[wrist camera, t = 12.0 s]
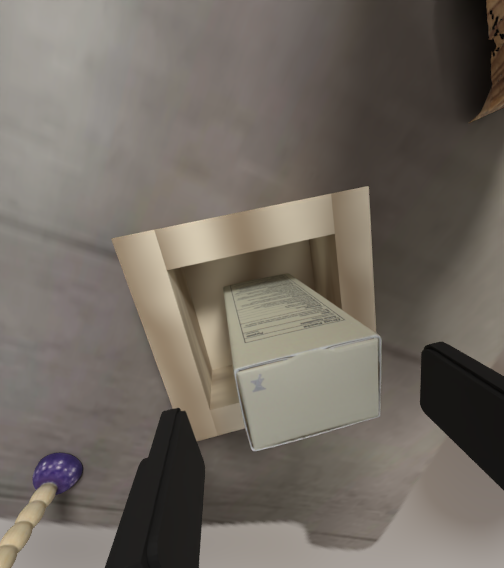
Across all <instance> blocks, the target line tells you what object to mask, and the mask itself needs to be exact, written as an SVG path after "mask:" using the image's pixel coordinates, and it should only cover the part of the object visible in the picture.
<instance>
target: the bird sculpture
mask: <svg viewBox="0 0 504 568" xmlns="http://www.w3.org/2000/svg"><path fill="white" fill-rule="evenodd" d="M486 3H487V7H486V8H487V22H488V25H489V32H488V34H489V40H492V38H494V42H495V43H496V49H497V48H498V47H499V48H500V49H499V51H498V52H497V51H494V52H495V56H493V54H492V55H491V56H492V58H491V65H492V66H491V80H492V87H491V89H490V92H489V94H488V96H487V99H486V101H485V103H484V106H483V108H482V110H481V111H480V113H479V114H478V115H477V116H476V117H475V118H474V119H473V120H471V121H470V122H469V123H471V122H473V121H475V120H478V119H480V118H482V117H484V116H486V115H488V114H490V113H493V112H495V111H498V110H499V109H502V108H504V39H503V40H502V39H501V36H499V34H500V33H501V34H504V0H486ZM491 10H492V11H493V13H492V14H494V19H493V20H492V15H490V14H489V13H490V11H491ZM497 16H499V19H498V22H497V25H496V26H495V29H494V30H492V26H493V25H494V22H495V19H496V17H497ZM500 18H501V19H502V21H501V19H500ZM490 29H491V30H492V31H490ZM496 29H498V30H499V33H497V36H496V37H495V36H494V34H495V32H496ZM502 44H503V46H502ZM496 49H495V50H496ZM491 52H492V51H491ZM492 53H493V52H492ZM497 80H499V81H497Z"/></svg>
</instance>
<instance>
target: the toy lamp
mask: <svg viewBox="0 0 504 568" xmlns="http://www.w3.org/2000/svg"><path fill="white" fill-rule="evenodd" d="M82 471H83V467H82V464H81V462H80V461H79V460H78V459H77V458H76V457H74V456H72V455H70V454H66V453H53V454H50V455H47V456H46V457H44V458H43V459H41V460H40V462H39V463H38V465H37V467H36V468H35V471H34V474H33V485H34V487H35V489H36V491H35V492H34V494H33V495H32V497H31V499H30V501H29V504H28V505H27V506H26V507H25V508H24V509H23V510H22V511H21V513H20V514H19V515H18V517H17V519H16V521H15V525H14V526H12V527H11V528H10V529H9V530H8V531H7V533H6V534H5V535H4V537H3V538H2V540H1V542H0V568H11V567H12V566H13V564H14V562H15V560H16V557H17V553H18V552H19V551H20V550H21V549H22V548H23V547H24V546H25V544H26V543H27V541H28V540H29V538H30V536H31V533H32V529H33V528H34V527H35V526H36V525H37V524H38V523H39V521H40V520H41V518H42V517H43V514H44V512H45V508H46V507H47V506H48V505H49V504H50V503H51V502H52V500H53V498H54V497H55V495H57V494H61V493H63V492H65V491H67V490H68V489H69V488H71V487H72V486H73V485H74V484H75V483H76V482H77V481H78V479H79V478H80V476H81V475H82Z"/></svg>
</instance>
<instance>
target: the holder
mask: <svg viewBox="0 0 504 568" xmlns="http://www.w3.org/2000/svg"><path fill="white" fill-rule="evenodd" d="M112 242H113V245H114V248H115V250H116V253H117V256H118V259H119V261H120V264H121V267H122V270H123V272H124V275H125V278H126V281H127V283H128V286H129V289H130V292H131V294H132V297H133V300H134V303H135V305H136V308H137V311H138V314H139V316H140V319H141V322H142V325H143V327H144V330H145V333H146V336H147V338H148V341H149V344H150V347H151V349H152V352H153V355H154V358H155V360H156V363H157V366H158V369H159V371H160V374H161V377H162V380H163V382H164V385H165V388H166V391H167V393H168V396H169V399H170V402H171V404H172V407H173V409H175V408H180V409H181V411H186V413H187V416H188V419H189V421H190V424H191V427H192V430H193V433H194V435H195V438H196V441H200V440H204V439H207V438H211V437H215V436H218V435H222V434H226V433H230V432H233V431H237V430H241V429H244V428H245V426H244V421H243V417H242V412H241V408H240V403H239V398H238V393H237V387H236V382H235V377H234V371H233V363H232V354H231V346H230V338H229V330H228V323H227V316H226V308H225V300H224V292H223V287H224V286H228V285H232V284H237V283H241V282H245V281H250V280H255V279H260V278H264V277H270V276H275V275H281V274H290V275H292V276H293V277H295V278H296V279H298V280H299V281H300V282H302V283H303V284H305V285H306V286H308V287H309V288H311V289H312V290H314V291H315V292H317V293H318V294H320V295H321V296H322V297H324V298H325V299H327V300H328V301H330V302H331V303H333V304H334V305H336V306H337V307H338V308H340V309H341V310H343V311H344V312H346V313H347V314H349V315H350V316H351V317H353V318H354V319H356V320H358V321H359V322H360V323H362V324H363V325H365V326H366V327H368V328H369V329H371V330H372V331H374V332H375V333H376V317H375V297H374V278H373V259H372V240H371V221H370V201H369V186H366V187H361V188H356V189H351V190H346V191H341V192H336V193H332V194H327V195H322V196H317V197H312V198H307V199H302V200H297V201H292V202H288V203H283V204H278V205H273V206H268V207H263V208H258V209H253V210H249V211H244V212H239V213H234V214H229V215H224V216H219V217H214V218H209V219H205V220H200V221H195V222H190V223H185V224H180V225H175V226H170V227H166V228H161V229H156V230H151V231H146V232H141V233H136V234H131V235H127V236H122V237H117V238H112Z"/></svg>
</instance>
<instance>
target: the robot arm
mask: <svg viewBox="0 0 504 568" xmlns="http://www.w3.org/2000/svg"><path fill="white" fill-rule="evenodd" d="M420 405H421V408H422V410H423V411H424V413H425V414H426V415H427V416H428V417H429V418H430V419H431V420H432V421H433V422H434V423H435V424H436V425H437V426H438V427H439V428H440V429H441V430H443V431H444V432H445V433H446V434H447V435H448V436H449V437H450V438H451V439H452V440H453V441H454V442H455V443H456V444H457V445H458V446H459V447H460V448H461V449H462V450H463V451H464V452H465V453H466V454H467V455H468V456H469V457H470V458H471V459H472V460H473V461H474V462H475V463H477V465H478V466H479V467H480V468H481V469H482V470H484V472H485V473H487V474H488V475H489V476H490V477H491V478H492V479H493V480H494V481H495V482H496V483H497V484H498V485H499V486H500V487H501V488H502V489H503V490H504V376H502V375H501V374H499V373H497V372H495V371H494V370H492V369H490V368H488V367H487V366H485V365H483V364H481V363H480V362H478V361H476V360H474V359H473V358H471V357H469V356H467V355H466V354H464V353H462V352H460V351H459V350H457V349H455V348H453V347H452V346H450V345H448V344H446V343H444V342H437V343H433V344H429V345H426V346H425V347H424V350H423V351H422V354H421V389H420ZM204 480H205V465H204V461H203V458H202V455H201V452H200V449H199V447H198V444H197V441H196V438H195V435H194V433H193V430H192V427H191V424H190V421H189V419H188V416H187V413H186V411H181V409H180V408H175V409H171V410H167V411H163V412H162V414H161V417H160V420H159V424H158V427H157V430H156V434H155V437H154V440H153V443H152V447H151V450H150V453H149V457H148V458H145V459H143V460H142V461H141V462H140V465H139V467H138V470H137V473H136V476H135V479H134V482H133V485H132V488H131V491H130V494H129V497H128V500H127V503H126V506H125V509H124V512H123V515H122V518H121V521H120V524H119V527H118V530H117V533H116V536H115V539H114V542H113V545H112V548H111V551H110V554H109V557H108V560H107V563H106V566H105V568H199V555H200V554H199V553H200V540H201V525H202V510H203V495H204Z"/></svg>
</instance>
